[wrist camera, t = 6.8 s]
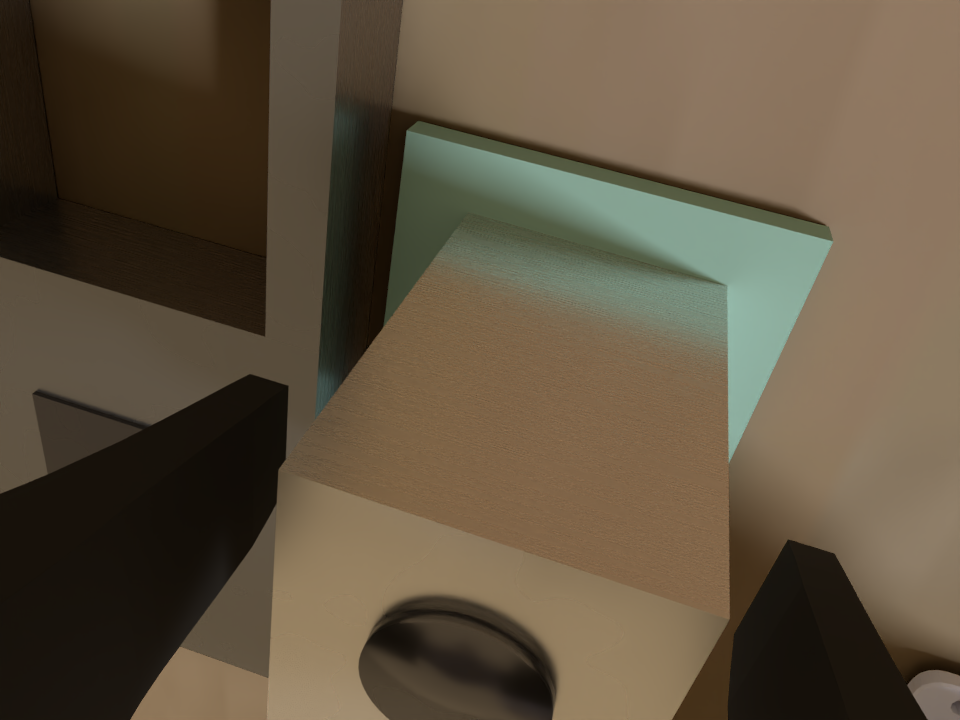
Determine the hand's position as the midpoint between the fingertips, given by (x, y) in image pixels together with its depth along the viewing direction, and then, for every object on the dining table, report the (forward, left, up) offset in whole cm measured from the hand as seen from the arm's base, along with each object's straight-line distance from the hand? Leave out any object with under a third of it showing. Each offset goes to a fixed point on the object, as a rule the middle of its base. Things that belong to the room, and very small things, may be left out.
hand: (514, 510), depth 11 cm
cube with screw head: (0, 0, -4) cm, 4 cm away
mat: (0, 0, -5) cm, 5 cm away
